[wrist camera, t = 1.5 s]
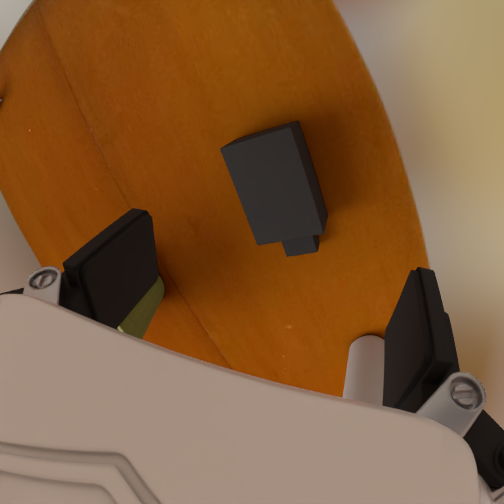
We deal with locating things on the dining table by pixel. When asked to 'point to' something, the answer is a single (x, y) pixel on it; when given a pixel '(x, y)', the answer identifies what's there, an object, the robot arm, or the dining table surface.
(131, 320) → the plant pot
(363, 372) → the beverage can
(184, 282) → the dining table surface
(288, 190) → the pad
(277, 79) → the dining table surface
